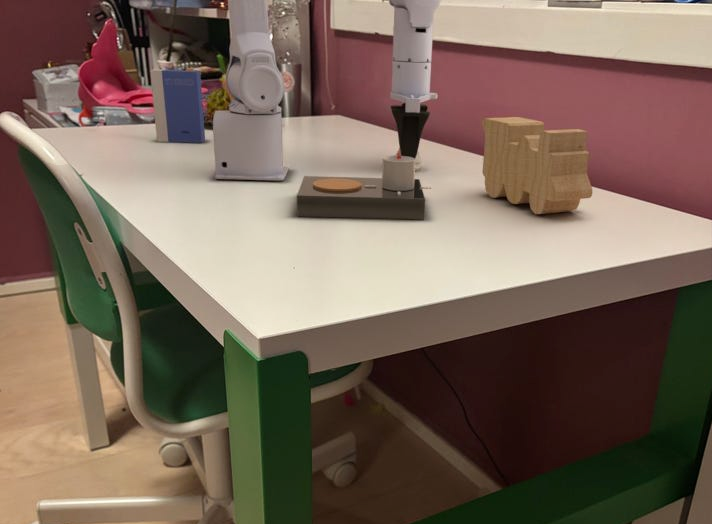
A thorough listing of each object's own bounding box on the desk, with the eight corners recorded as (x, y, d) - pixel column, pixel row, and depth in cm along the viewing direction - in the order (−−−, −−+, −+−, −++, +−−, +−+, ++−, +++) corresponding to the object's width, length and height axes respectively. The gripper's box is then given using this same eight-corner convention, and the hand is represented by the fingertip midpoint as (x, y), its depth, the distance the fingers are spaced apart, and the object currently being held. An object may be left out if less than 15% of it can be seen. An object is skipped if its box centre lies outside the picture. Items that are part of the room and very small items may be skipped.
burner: (311, 190, 88) (311, 188, 88) (314, 180, 94) (314, 177, 94) (361, 192, 89) (361, 189, 88) (361, 181, 94) (361, 179, 94)
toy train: (553, 221, 89) (563, 135, 85) (476, 191, 103) (482, 116, 98) (588, 217, 91) (601, 134, 87) (509, 188, 105) (516, 115, 101)
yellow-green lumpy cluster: (178, 127, 144) (173, 74, 139) (210, 117, 158) (206, 68, 154) (263, 133, 141) (261, 79, 137) (288, 122, 156) (286, 72, 151)
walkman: (205, 140, 132) (200, 68, 127) (201, 143, 129) (196, 69, 124) (160, 139, 132) (153, 66, 126) (156, 141, 129) (149, 68, 124)
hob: (297, 216, 87) (296, 193, 86) (304, 195, 97) (303, 174, 96) (433, 220, 88) (434, 197, 87) (426, 198, 98) (427, 178, 97)
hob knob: (415, 191, 90) (416, 159, 88) (382, 190, 90) (382, 158, 88) (413, 184, 93) (414, 153, 92) (381, 183, 93) (382, 152, 92)
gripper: (443, 65, 102) (437, 165, 108) (434, 59, 115) (430, 148, 121) (392, 63, 102) (389, 164, 108) (389, 57, 115) (387, 147, 121)
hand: (408, 155), depth 114 cm, fingers closed on rook chess piece, 3 cm apart
